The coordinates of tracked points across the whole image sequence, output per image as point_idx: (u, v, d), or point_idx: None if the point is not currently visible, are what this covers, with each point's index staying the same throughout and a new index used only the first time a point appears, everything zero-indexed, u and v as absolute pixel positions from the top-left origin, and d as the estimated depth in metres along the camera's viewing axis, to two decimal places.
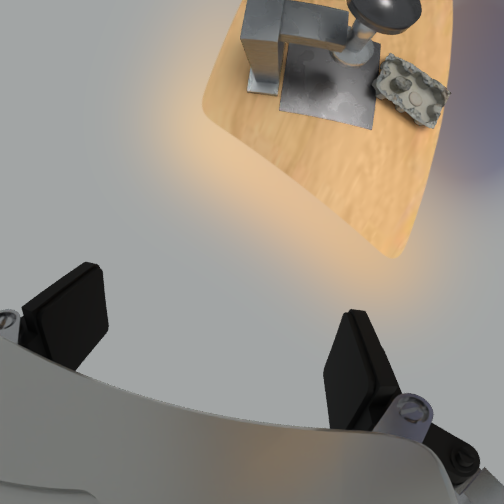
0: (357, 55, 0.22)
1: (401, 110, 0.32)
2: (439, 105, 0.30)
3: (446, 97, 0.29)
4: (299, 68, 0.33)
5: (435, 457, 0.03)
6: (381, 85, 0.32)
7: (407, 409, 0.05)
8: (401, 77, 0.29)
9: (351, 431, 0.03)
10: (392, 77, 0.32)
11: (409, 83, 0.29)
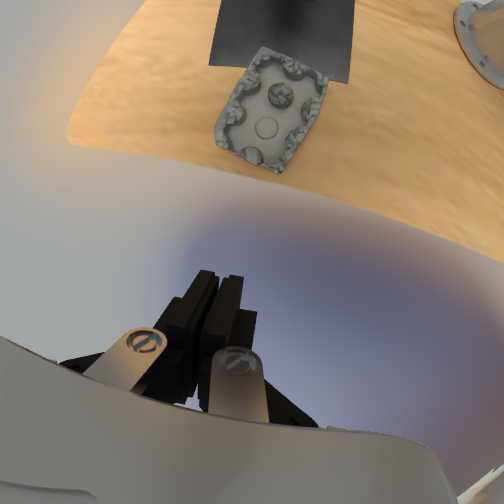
0: None
1: (239, 98, 0.25)
2: (258, 158, 0.25)
3: (272, 168, 0.25)
4: None
5: (435, 457, 0.03)
6: (277, 75, 0.24)
7: (231, 363, 0.07)
8: (290, 91, 0.23)
9: (351, 431, 0.03)
10: (294, 93, 0.25)
11: (281, 101, 0.23)
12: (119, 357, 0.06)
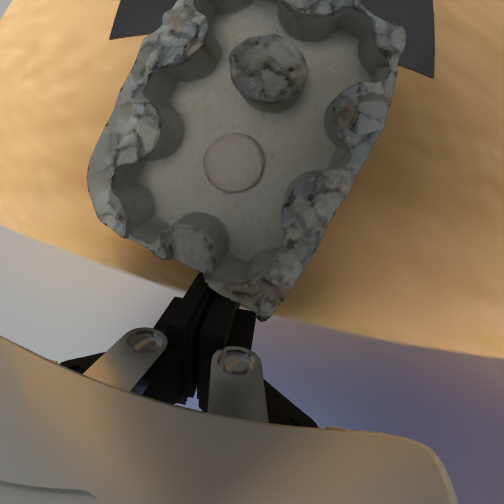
0: None
1: (161, 89, 0.09)
2: (207, 260, 0.10)
3: (243, 296, 0.09)
4: None
5: (435, 457, 0.03)
6: (263, 29, 0.09)
7: (230, 363, 0.07)
8: (297, 60, 0.07)
9: (351, 431, 0.03)
10: None
11: (271, 90, 0.07)
12: (120, 357, 0.06)
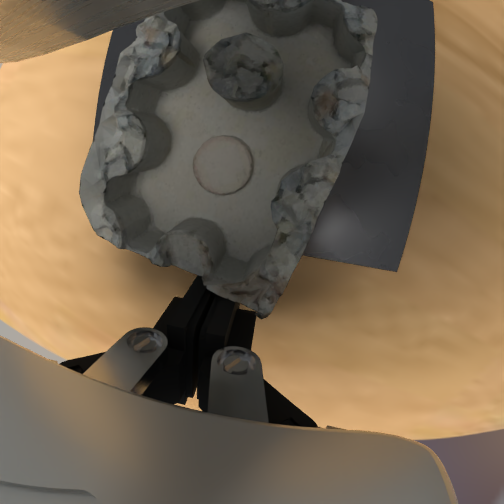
0: None
1: (144, 100, 0.09)
2: (204, 263, 0.10)
3: (242, 295, 0.09)
4: None
5: (435, 457, 0.03)
6: (237, 30, 0.09)
7: (230, 363, 0.07)
8: (270, 55, 0.07)
9: (351, 431, 0.03)
10: (285, 66, 0.09)
11: (247, 87, 0.07)
12: (120, 357, 0.06)
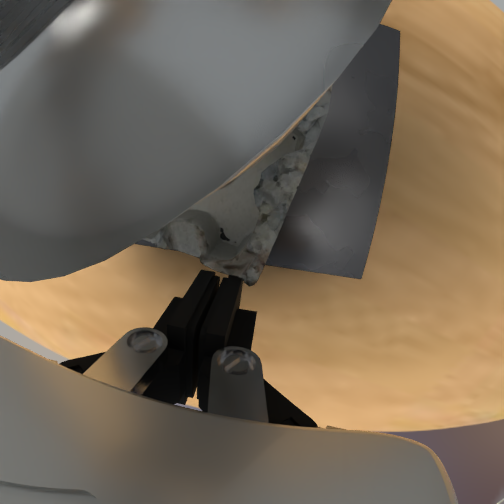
0: None
1: None
2: (201, 245, 0.11)
3: (234, 269, 0.11)
4: None
5: (435, 457, 0.03)
6: None
7: (230, 363, 0.07)
8: None
9: (351, 431, 0.03)
10: None
11: None
12: (120, 357, 0.06)
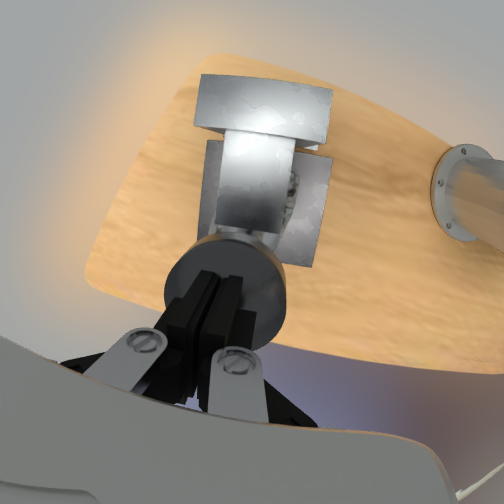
0: None
1: None
2: None
3: None
4: None
5: (435, 457, 0.03)
6: None
7: (230, 363, 0.07)
8: None
9: (351, 431, 0.03)
10: None
11: None
12: (119, 357, 0.06)
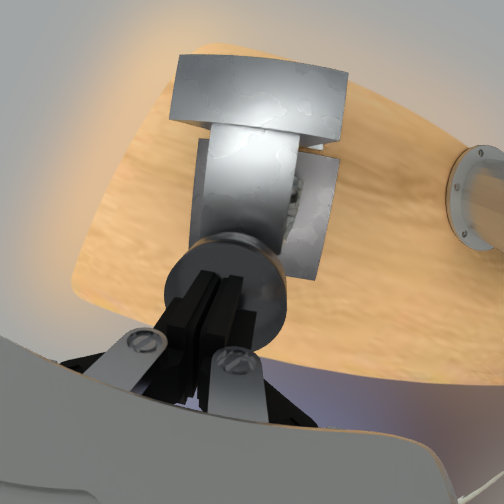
0: None
1: None
2: None
3: None
4: None
5: (435, 457, 0.03)
6: None
7: (230, 363, 0.07)
8: None
9: (351, 431, 0.03)
10: None
11: None
12: (120, 357, 0.06)
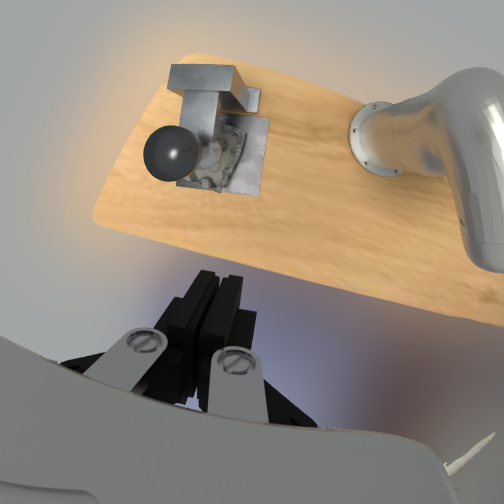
0: None
1: None
2: (208, 185, 0.45)
3: (216, 190, 0.44)
4: None
5: (435, 457, 0.03)
6: (217, 131, 0.44)
7: (230, 363, 0.07)
8: (222, 143, 0.42)
9: (351, 431, 0.03)
10: (228, 141, 0.44)
11: None
12: (120, 357, 0.06)
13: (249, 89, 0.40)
